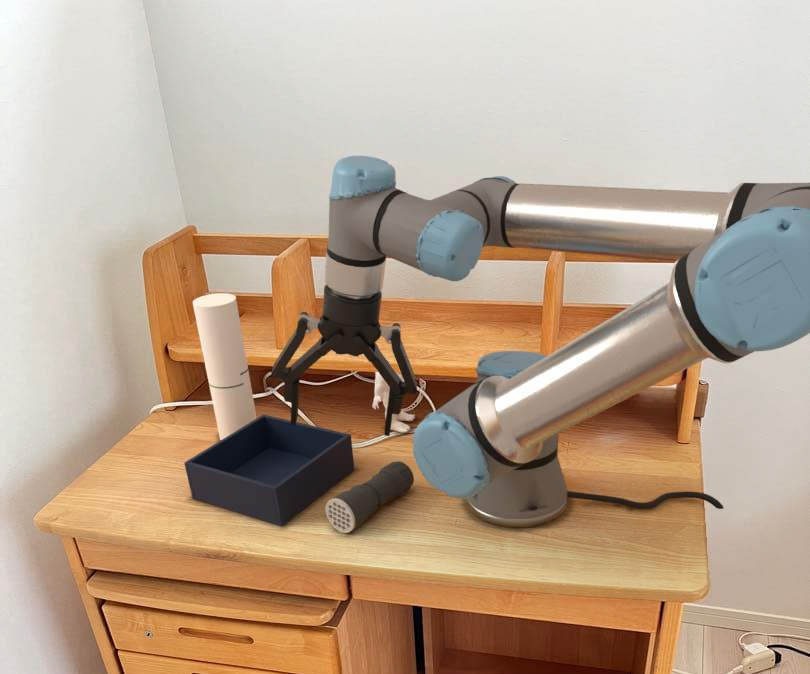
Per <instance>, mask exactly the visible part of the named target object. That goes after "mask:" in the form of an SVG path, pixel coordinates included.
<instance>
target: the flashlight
mask: <svg viewBox="0 0 810 674" xmlns="http://www.w3.org/2000/svg"><path fill="white" fill-rule="evenodd" d="M414 481H415V478H414V473H413V471H412V469H411V467H410V466H409V465H408V464H406V463H405V462H403V461H399V460H397V461H391V462H390V463H388V464H386V465H384V466H383V467H382V468H380V470H379V472H377V474H374V475H373V476H371V478H370V479H368V480H367V481H365V482H363V483H362V484H356V485H355V486H352V487H351V488H349V490H345V491H342V492H340V493H339V494H337V495H336V496H334V497H333V498H331V499H330V500H328V501H327V502H326V504H325V508H324V511H325V516H326V518H327V520H328V522H329V524H330V525H331V526H332V527H333V528H334V530H336V531H338V532H340V533H342V534H348V533H350V532H352V531H353V530H354V529H356V528H358V527H359V526H360V525H362V524H364V522H366V520H367V519H368V518H369V517H371V516H372V515H374V514H375V513H376V512H377V510H378V508H380V507H381V506H382V505H384V504H385V503H387V502H390V501H391V500H393V499H395V498H398V497H399V498H400V497H401V496H402V495H404V494H405V493H407V492H408V491H409V490H411V488H412V486H413V485H414Z"/></svg>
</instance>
